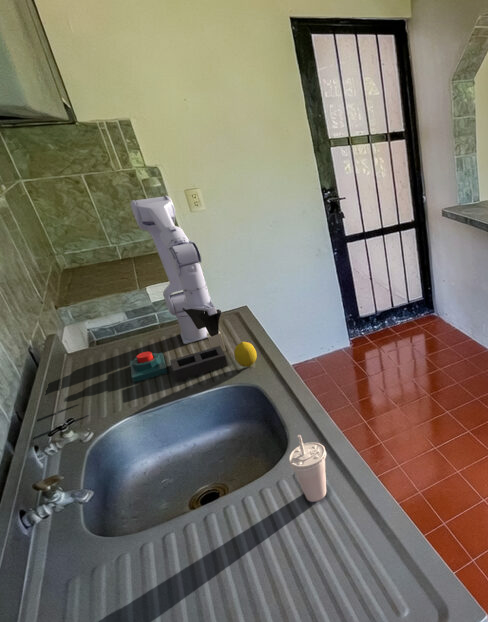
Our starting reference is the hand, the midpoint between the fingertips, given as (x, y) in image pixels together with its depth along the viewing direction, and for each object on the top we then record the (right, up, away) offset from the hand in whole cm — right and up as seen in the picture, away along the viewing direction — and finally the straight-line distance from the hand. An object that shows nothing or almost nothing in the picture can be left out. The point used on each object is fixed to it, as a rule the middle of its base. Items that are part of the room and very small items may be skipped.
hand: (208, 331), depth 129 cm
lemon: (+12, -10, -1) cm, 16 cm away
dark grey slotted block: (-1, -10, -1) cm, 11 cm away
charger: (-1, -6, +8) cm, 10 cm away
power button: (-17, -8, -2) cm, 18 cm away
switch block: (-16, -11, 0) cm, 20 cm away
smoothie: (+45, -29, -44) cm, 69 cm away
